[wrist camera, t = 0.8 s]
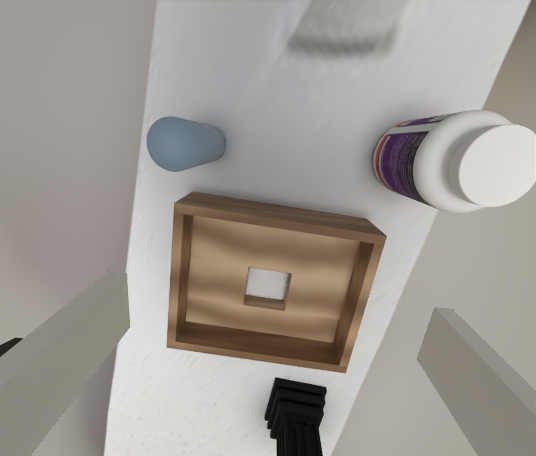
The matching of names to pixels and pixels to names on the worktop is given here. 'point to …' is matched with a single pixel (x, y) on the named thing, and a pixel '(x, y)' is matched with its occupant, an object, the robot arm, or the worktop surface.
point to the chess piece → (296, 417)
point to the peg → (183, 143)
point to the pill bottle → (458, 160)
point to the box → (276, 259)
